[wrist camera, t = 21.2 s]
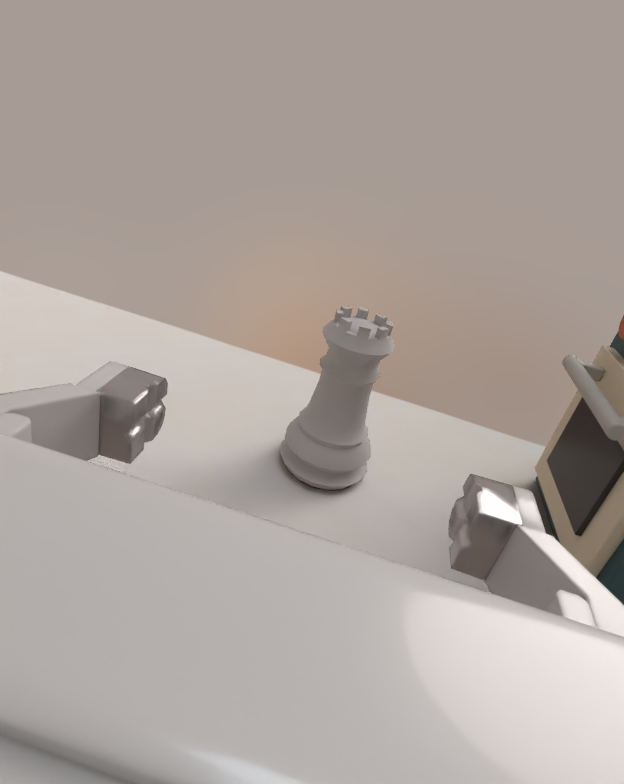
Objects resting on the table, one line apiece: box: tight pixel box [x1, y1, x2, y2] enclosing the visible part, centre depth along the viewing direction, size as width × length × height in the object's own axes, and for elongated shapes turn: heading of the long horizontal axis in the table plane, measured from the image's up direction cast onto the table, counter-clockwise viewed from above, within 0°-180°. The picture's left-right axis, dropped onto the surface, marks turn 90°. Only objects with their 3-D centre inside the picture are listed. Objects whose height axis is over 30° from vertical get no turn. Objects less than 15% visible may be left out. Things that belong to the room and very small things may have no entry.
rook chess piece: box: [280, 306, 395, 490], centre depth 23 cm, size 4×4×8 cm
